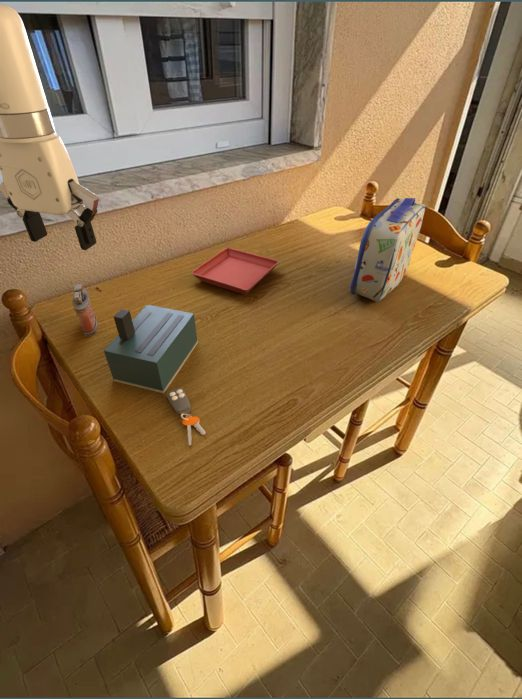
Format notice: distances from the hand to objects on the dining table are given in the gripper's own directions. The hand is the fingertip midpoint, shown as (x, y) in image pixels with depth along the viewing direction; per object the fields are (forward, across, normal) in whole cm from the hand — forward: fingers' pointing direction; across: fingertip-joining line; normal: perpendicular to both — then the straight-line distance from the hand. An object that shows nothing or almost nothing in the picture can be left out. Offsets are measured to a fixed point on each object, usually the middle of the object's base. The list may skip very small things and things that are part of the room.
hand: (64, 242), depth 63 cm
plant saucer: (+26, +15, +41) cm, 51 cm away
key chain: (+26, +23, -9) cm, 36 cm away
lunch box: (+26, +54, +50) cm, 78 cm away
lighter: (+26, -10, +9) cm, 30 cm away
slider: (+18, +8, 0) cm, 20 cm away
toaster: (+26, +11, +3) cm, 29 cm away
